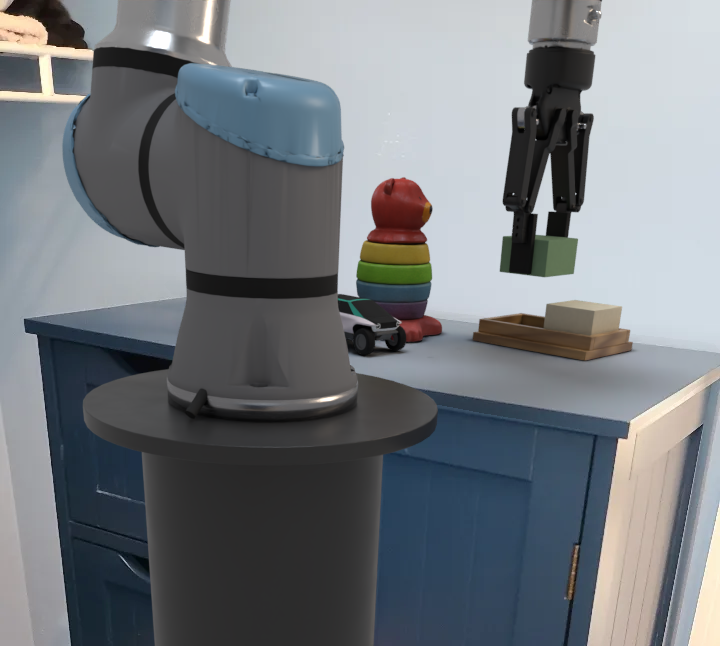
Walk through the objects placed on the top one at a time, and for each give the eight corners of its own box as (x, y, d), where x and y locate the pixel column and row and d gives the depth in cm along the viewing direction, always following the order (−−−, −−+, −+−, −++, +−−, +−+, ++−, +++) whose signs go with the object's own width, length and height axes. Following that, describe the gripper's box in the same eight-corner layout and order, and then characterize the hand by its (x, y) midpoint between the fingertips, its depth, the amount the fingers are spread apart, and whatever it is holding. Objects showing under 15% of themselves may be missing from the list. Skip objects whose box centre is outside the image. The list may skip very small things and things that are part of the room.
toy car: (338, 336, 117) (339, 290, 114) (406, 352, 109) (409, 303, 106) (300, 340, 113) (301, 293, 111) (368, 357, 105) (370, 306, 103)
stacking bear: (414, 343, 114) (424, 179, 106) (339, 334, 117) (343, 175, 109) (446, 332, 122) (458, 179, 114) (375, 324, 126) (382, 175, 118)
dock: (585, 360, 108) (588, 338, 107) (472, 340, 118) (474, 319, 117) (631, 350, 116) (635, 329, 114) (522, 332, 125) (524, 312, 124)
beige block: (589, 346, 110) (594, 310, 108) (542, 338, 114) (546, 303, 112) (617, 341, 115) (622, 306, 113) (570, 333, 118) (575, 299, 117)
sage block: (544, 277, 111) (548, 240, 109) (499, 271, 115) (502, 236, 113) (574, 274, 115) (578, 238, 113) (529, 268, 119) (532, 234, 117)
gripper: (542, 37, 96) (517, 279, 106) (635, 55, 109) (604, 270, 119) (482, 40, 100) (463, 272, 111) (578, 57, 113) (553, 264, 124)
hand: (536, 270), depth 115 cm, fingers closed on sage block, 6 cm apart
